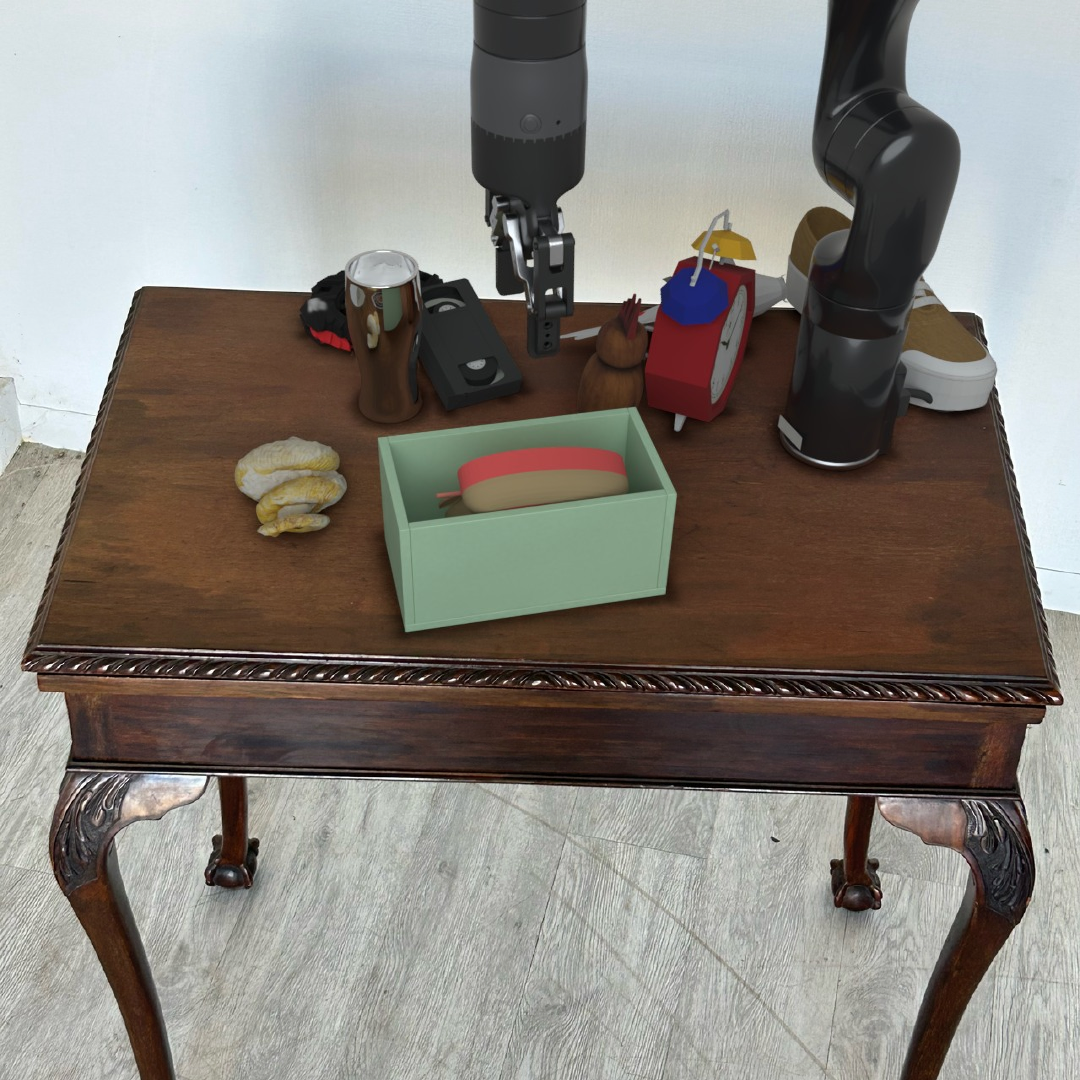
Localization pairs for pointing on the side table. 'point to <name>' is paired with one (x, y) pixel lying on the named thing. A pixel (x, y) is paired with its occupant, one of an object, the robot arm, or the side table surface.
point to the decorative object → (535, 479)
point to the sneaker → (909, 329)
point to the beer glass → (385, 332)
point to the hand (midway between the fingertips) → (526, 322)
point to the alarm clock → (701, 328)
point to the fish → (765, 297)
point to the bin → (523, 525)
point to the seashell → (291, 484)
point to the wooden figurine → (616, 363)
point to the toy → (336, 310)
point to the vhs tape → (463, 347)
